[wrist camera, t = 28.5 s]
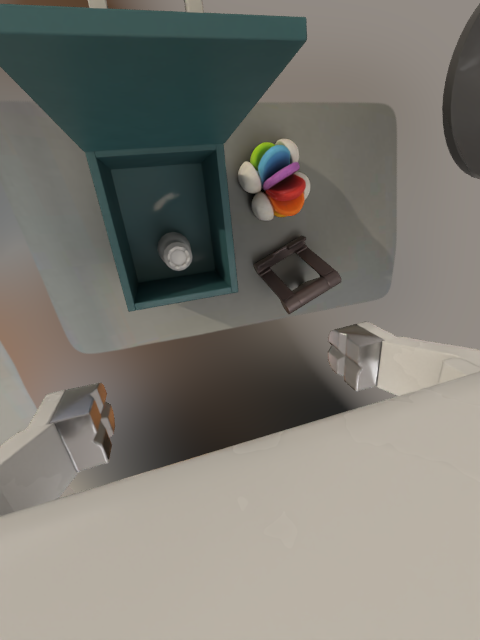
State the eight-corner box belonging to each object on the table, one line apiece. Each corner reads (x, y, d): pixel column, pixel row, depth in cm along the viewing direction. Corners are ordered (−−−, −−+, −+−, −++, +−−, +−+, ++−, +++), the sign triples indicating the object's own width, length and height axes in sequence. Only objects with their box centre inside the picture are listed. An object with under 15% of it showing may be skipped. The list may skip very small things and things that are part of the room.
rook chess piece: (166, 269, 40) (169, 283, 32) (151, 239, 38) (150, 247, 30) (195, 256, 40) (204, 267, 33) (181, 226, 38) (188, 230, 31)
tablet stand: (299, 234, 44) (329, 240, 37) (316, 276, 48) (346, 289, 40) (252, 263, 44) (272, 275, 36) (272, 303, 47) (294, 322, 40)
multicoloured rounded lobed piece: (258, 229, 42) (277, 233, 35) (227, 163, 38) (243, 154, 31) (306, 200, 42) (333, 199, 36) (280, 131, 38) (307, 116, 31)
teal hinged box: (220, 273, 43) (238, 292, 34) (134, 287, 40) (128, 311, 31) (205, 156, 37) (223, 139, 27) (102, 163, 34) (83, 147, 25)
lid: (307, 40, 12) (303, -124, 10) (-35, 32, 9) (-112, -192, 8) (224, 143, 27) (217, 82, 25) (83, 152, 24) (66, 84, 23)
